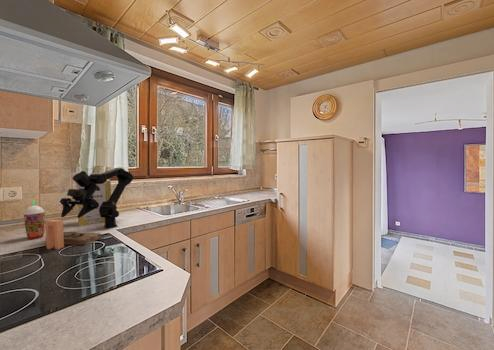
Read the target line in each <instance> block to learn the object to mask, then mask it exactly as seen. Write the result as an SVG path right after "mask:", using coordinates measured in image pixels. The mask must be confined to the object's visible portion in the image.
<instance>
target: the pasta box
mask: <svg viewBox="0 0 494 350" xmlns="http://www.w3.org/2000/svg"><path fill="white" fill-rule="evenodd" d="M75 183H76V182H75ZM111 184H112V183H111V179H107V181H106V182H104V183H103V184H96V185H97V186H99V188H100V191H95V192H94V194H93V195H92V196H93V199H95V200H96V201H97V202H98V203H99V207H98V208H97V209H94V210H92V211H90V212H88V213H86V214H85V215H83V216H82V217H80V218H78V217H77V222H78V223H77V224H78V227H83V226H84V227H85V226H90V225H97V224H105V217H101V215H100V213H99V209H100V206H101V204H102V202H107V201H108V200H109V198H110V196H111V195H112V187H111ZM75 186H76V189H78V190H79V189H83V188H84V187H80V186H79V185H78V184H77V183H76V185H75ZM90 199H91V198H90ZM82 208H83V205H77V215H78V214H79V213H80V211H81V209H82Z"/></svg>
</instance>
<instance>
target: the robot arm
mask: <svg viewBox="0 0 494 350" xmlns="http://www.w3.org/2000/svg"><path fill="white" fill-rule="evenodd" d="M114 177H116V178H117V182H118V183H117V184H116V186H115V188H114V189H113V191H112V192H111V196H110V198H109V200H108V201H107V202H102V204H101V206H100V209H99V213H100V215H101V217H105V223H104V225H103V227H104V229H111V228H116V227H118V224H117V223H116V222H117V221H116V218H118V217H119V215H120V212H119V210H117V209H118V207H117V206H118V205H117V203H118V201H119V200H120V198H121V196H122V194H123V192H124V190H125V188H126V187H127V186H128V185H130V184H131V182H132V181H133V180H134V176H133V174H132V173H131V172H129V171H127V170H125V169H124V168H123V167H115V168H113V169H110V170H107V171H104V172H100V173H91V174H90V175H89V174H87V172H86V171H84V170H82V171H80V172H78V173H76V174H75V175H73V176H72V180H73V181H74V182H75V183H77V184H78V185H79V186H80V187H84V188H83V189H79V190H78V189H77V188H76V189H75V188H74V189H72V188H71V189H69V188H68V190H67V193H66V196H69V197H63V198H61V199H60V200H59V203H60V204H61V205H62V211H61V216H60V217H61V218H64V217H66V216H67V215H68V214H69V213H70V212H71V211H72V210H74V208H75V206H76V205H77V206H78V205H83V208H82V209H81V211H80V213H79V214H78V213H77V216H76V217H77V219H78V218H80V217H82V216H83V215H85V214H86V213H88V212H90V211H92V210H94V209H97V208H98V207H99V203H98V202H97V201H96V200H95V199H93V196H92V195H93V194H94V192H95V191H100V188H99V186H97V185H96V184H103V183H104V182H106V181H107V180H110V179H111V178H114ZM71 197H72V198H71ZM90 198H91V199H90Z"/></svg>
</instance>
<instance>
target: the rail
mask: <svg viewBox="0 0 494 350" xmlns="http://www.w3.org/2000/svg"><path fill="white" fill-rule="evenodd" d="M63 236H64V245H77V246H78V245H79V246H86V245H88V244H91V243H93V242H96V241H98V240H100V239H102V233H99V232H97V233H96V232H77V231H76V232H75V231H74V232H72V231H63Z"/></svg>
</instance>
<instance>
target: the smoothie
mask: <svg viewBox="0 0 494 350" xmlns="http://www.w3.org/2000/svg"><path fill="white" fill-rule="evenodd" d="M35 203H36V202H35V199H33V200H32V205H30V206H28V207H27V208H26V209H25V210H24V212H23V222H24V226H25V234H26V237H27V238H28V240H36V239H41V238H43V237H44V235H45V218H46V217H45V215H46V211H45V210H44V208H43V207H41V206H39V205H35Z"/></svg>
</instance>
